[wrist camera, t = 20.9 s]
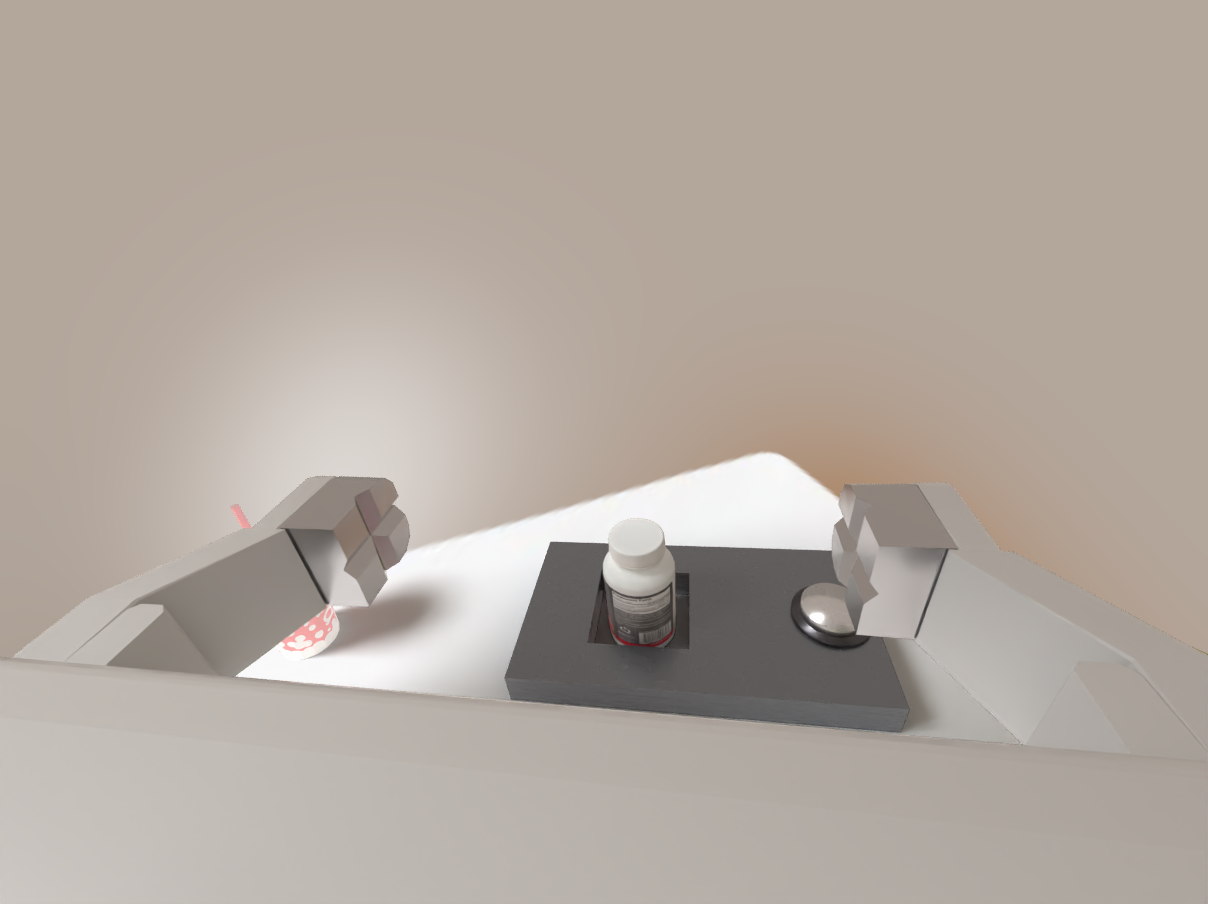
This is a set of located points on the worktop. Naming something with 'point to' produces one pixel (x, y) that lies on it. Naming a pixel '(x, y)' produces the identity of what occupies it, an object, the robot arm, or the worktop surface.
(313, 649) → the beverage cup
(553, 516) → the worktop surface
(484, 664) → the worktop surface
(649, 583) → the pill bottle
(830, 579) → the dark grey holder board
